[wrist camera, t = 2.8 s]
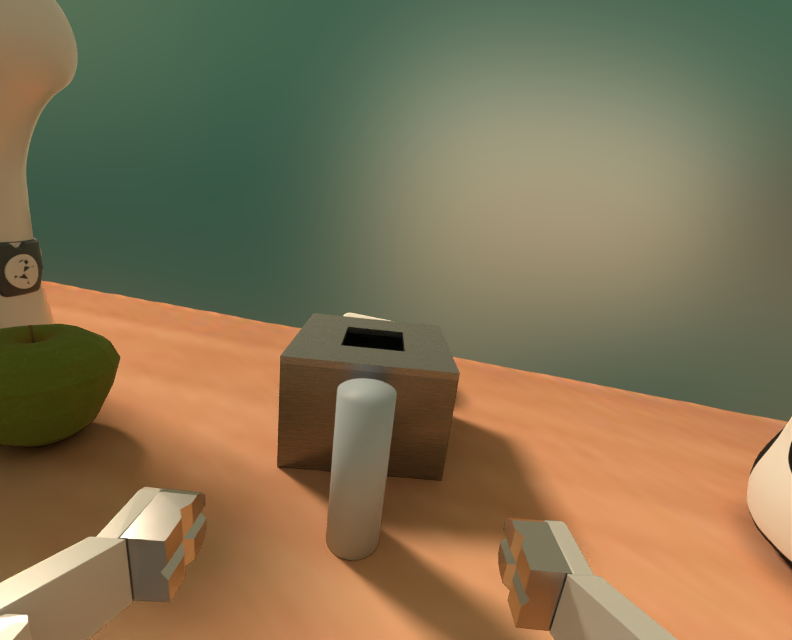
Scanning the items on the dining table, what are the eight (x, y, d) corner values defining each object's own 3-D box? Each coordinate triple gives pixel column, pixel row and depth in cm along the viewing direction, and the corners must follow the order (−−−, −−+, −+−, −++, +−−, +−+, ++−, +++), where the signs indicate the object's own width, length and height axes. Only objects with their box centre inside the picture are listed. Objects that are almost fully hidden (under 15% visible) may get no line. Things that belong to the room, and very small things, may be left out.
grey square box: (277, 466, 32) (280, 356, 29) (309, 395, 44) (313, 313, 42) (441, 480, 32) (459, 373, 30) (427, 405, 45) (438, 325, 42)
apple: (-97, 472, 27) (-134, 340, 24) (32, 401, 37) (16, 302, 34) (66, 481, 28) (47, 354, 25) (148, 409, 38) (141, 313, 35)
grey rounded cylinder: (321, 558, 24) (333, 402, 21) (330, 514, 27) (341, 376, 24) (378, 562, 24) (397, 408, 21) (379, 518, 28) (396, 381, 25)
